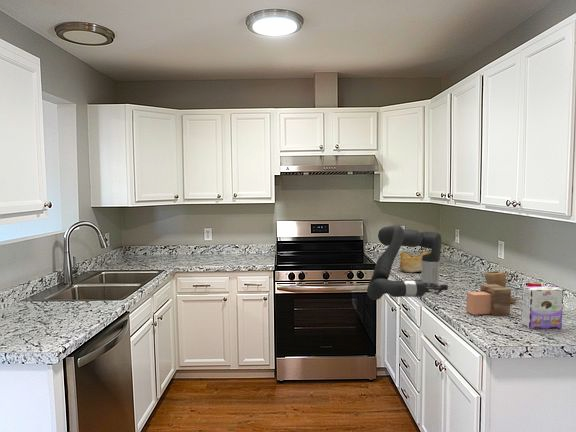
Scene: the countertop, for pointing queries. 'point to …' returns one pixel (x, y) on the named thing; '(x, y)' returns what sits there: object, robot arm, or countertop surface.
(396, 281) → the robot arm
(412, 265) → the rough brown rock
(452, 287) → the countertop surface
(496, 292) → the tunnel
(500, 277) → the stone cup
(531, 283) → the beverage can
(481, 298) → the block
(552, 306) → the candy box
